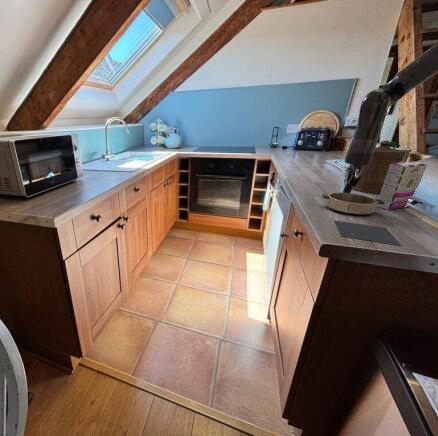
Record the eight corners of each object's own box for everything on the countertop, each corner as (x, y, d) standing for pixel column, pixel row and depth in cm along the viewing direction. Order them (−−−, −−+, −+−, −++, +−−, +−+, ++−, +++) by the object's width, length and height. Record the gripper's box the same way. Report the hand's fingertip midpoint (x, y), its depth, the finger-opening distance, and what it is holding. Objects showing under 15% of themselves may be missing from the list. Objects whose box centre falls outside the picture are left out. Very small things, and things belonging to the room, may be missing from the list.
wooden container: (394, 195, 104) (415, 142, 96) (351, 191, 112) (366, 141, 103) (386, 187, 116) (403, 139, 108) (347, 184, 123) (361, 138, 115)
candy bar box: (394, 203, 96) (411, 161, 89) (410, 207, 91) (429, 163, 85) (373, 206, 93) (389, 163, 87) (388, 210, 89) (406, 165, 82)
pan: (372, 207, 92) (376, 195, 90) (385, 220, 81) (390, 207, 79) (317, 201, 100) (320, 190, 98) (322, 212, 88) (325, 200, 86)
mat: (385, 227, 75) (385, 227, 75) (401, 246, 65) (401, 245, 65) (334, 220, 81) (334, 220, 81) (341, 236, 70) (341, 236, 70)
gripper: (379, 154, 82) (361, 202, 89) (369, 148, 92) (353, 191, 100) (351, 152, 85) (336, 199, 92) (344, 147, 96) (331, 189, 103)
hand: (345, 195), depth 96 cm, fingers closed
